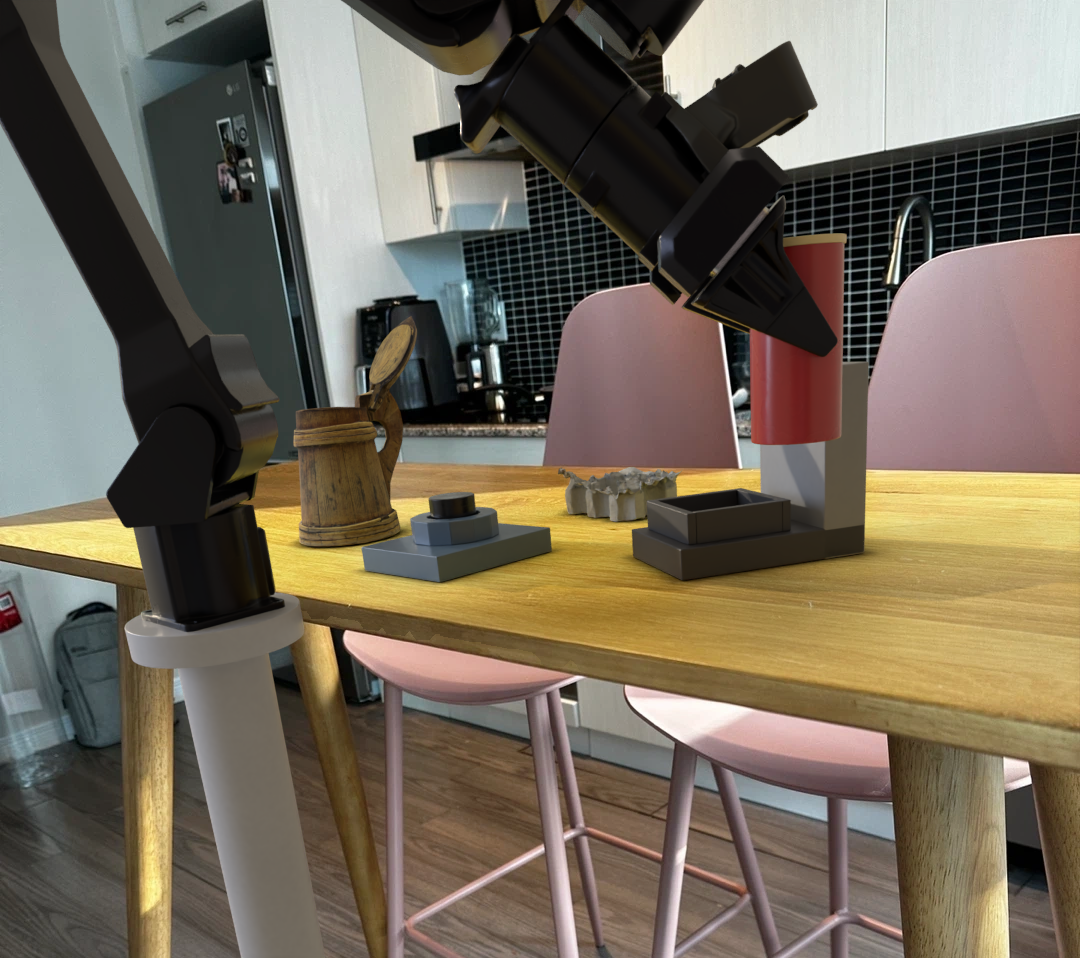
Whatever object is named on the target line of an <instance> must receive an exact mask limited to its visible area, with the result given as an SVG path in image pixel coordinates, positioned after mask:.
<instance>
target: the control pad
mask: <svg viewBox="0 0 1080 958" xmlns="http://www.w3.org/2000/svg"><path fill="white" fill-rule="evenodd" d="M476 514H477V515H473V516H468V517H463V518H455V519H438V520H436V519H431V516H430V511H427V512H423V513H419V514H416V515H414V516H412V517H410V518H409V520H410V521H409V522H410V529H411V535H405V536H403V537H398V538H394V539H390V540H386V541H381V542H376V543H373V544H368V545H364V546H361V554H362V555H361V556H362V559H363V561H362V562H363V567H364V571H366V572H372V573H377V574H384V575H389V576H390V575H392V576H397V577H404V578H410V579H417V580H422V581H423V580H424V581H430V582H437V583H443V582H446V581H451V580H453V579H456V578H461V577H464V576H468V575H471V574H474V573H479V572H482V571H485V570H490V569H492V568H496V567H500V566H503V565H504V566H505V565H507V564H511V563H514V562H518V561H522V560H524V559H529V558H531V557H532V558H533V557H535V556H539V555H542V554H546V553H551V552H553V547H552V546H553V545H552V535H551V527H549V526H548V527H547V526H537V525H524V524H513V523H503V522H499V517H498V510H496V509H495V508H493V507H488V506H487V507H485V506H476Z"/></svg>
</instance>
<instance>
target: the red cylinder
mask: <svg viewBox="0 0 1080 958" xmlns="http://www.w3.org/2000/svg"><path fill="white" fill-rule="evenodd" d="M845 244H847V233H820V234H819V233H818V234H807V235H799V236H789V237H783V247H784V251H785V253H786V255H787V257H788V258H789V260H790V262H791V263H792V265H793V267H794V269H795V270H796V272H797V274H798V275H799V277H800V279H801V280H802V282H803V283H804V285H805V287H806V288H807V290H808V291H809V293H810V295H811V296H812V298H813V300H814V301H815V303H816V304H817V306H818V308H819V309H820V311H821V313H822V314H823V316H824V317H825V319H826V321H827V322H828V324H829V326H830V327H831V329H832V330H833V332H834V334H835V335H836V337H837V339H838V342H837V344H836V346H835V347H834V348H833V349H832V350H831V351H830V352H829V353H828V355H827V356H825V357H819V356H817V355H814V354H812V353H809V352H807V351H804V350H802V349H799V348H797V347H794V346H792V345H789V344H787V343H785V342H782V341H780V340H777V339H775V338H772V337H770V336H767V335H765V334H762V333H760V332H757V331H755V330H753V329H750V334H749V371H750V372H749V375H750V376H749V377H750V381H749V382H750V384H749V385H750V441H751V443H752V444H755V445H759V446H760V445H793V444H807V443H816V442H824V441H830V440H834V439H838V438H840V437H841V429H842V365H843V362H844V359H843V358H844V357H843V355H844V354H843V353H844V300H845V299H844V298H845V295H844V293H845V290H844V289H845Z"/></svg>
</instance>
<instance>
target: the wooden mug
mask: <svg viewBox="0 0 1080 958" xmlns="http://www.w3.org/2000/svg"><path fill="white" fill-rule="evenodd" d="M417 338H418V329H417V326H416V323H415V321H414V318H413V316H412V315H410V316H409V317H407V318H405V319H404V320H402V321H401V322H400V323H399V324H398V325H396V326H395V327H393V329H391V331H390V332H389V333H388V334H387V335H386V337H385V338H384V339H383V341H382V342H381V344H380V345H379V347H378V349H377V351H376V353H375V355H374V358H373V360H372V363H371V365H370V370H369V374H368V375H369V377H368V379H369V389H368V392H364V393H360V394H357V395H355V399H354V406H328V407H315V408H307V409H299V410H296V411H295V424H296V428H295V429H294V430H293V447H294V448H295V449H297V455H298V457H297V458H298V473H299V495H300V512H301V513H300V517H301V519H300V521H299V522H298V543H300V544H302V545H304V546H308V547H325V548H327V547H344V546H351V545H358V544H365V543H370V542H375V541H380V540H385V539H388V538H391V537H393V536H395V535H397V534H399V532H401V528H402V527H401V524H400V519H399V515H398V511H397V510H396V509H395V508H393V507H392V502H391V482H392V478H393V475H394V471H395V468H396V465H397V463H398V462H397V461H398V459H399V457H400V452H401V449H402V444H403V437H404V424H403V418H402V413H401V410H400V408H399V405H398V403H397V401H396V399H395V398H394V396H393V395H392V393H391V391H390V389H391V388H392V386H393V385H394V384H395V383H396V382H397V380H398V379H399V377H400V376H401V374H402V373H403V371H404V370H405V368H406V367H407V365H408V363H409V361H410V358H411V357H412V354H413V351H414V349H415V346H416V342H417ZM373 422H376V423H377V422H378V423H379V424H380V425H381V427H383V429H384V433H385V441H384V443H383V446H382V448H381V449H380V450H379V451H378V449H377V445H376V438H377V437H378V431H377V429H376V428H375V425H374V424H373Z"/></svg>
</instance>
